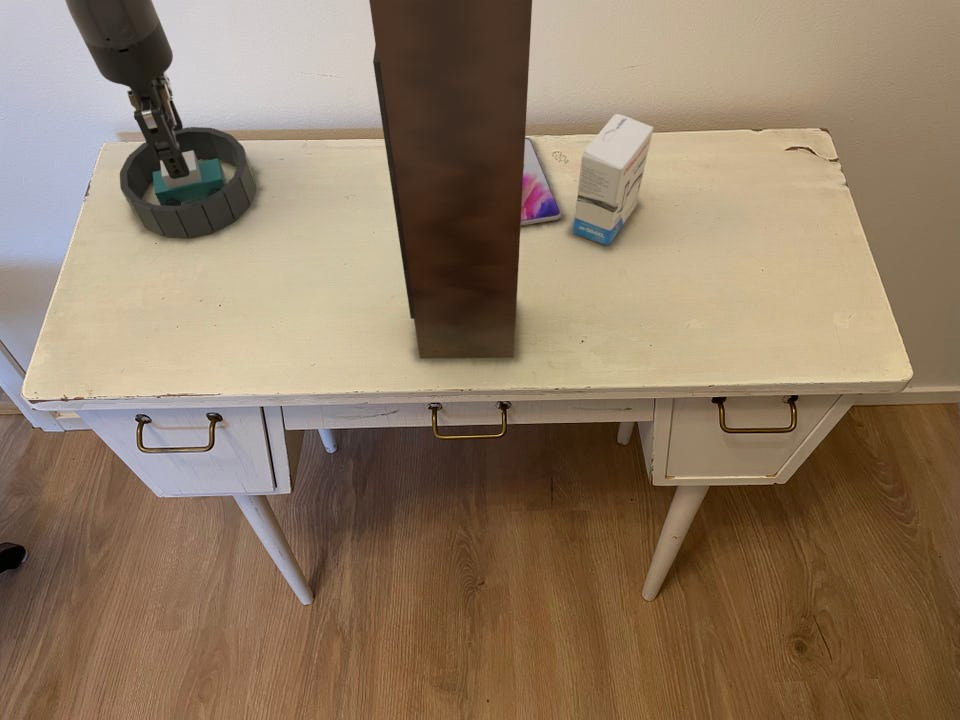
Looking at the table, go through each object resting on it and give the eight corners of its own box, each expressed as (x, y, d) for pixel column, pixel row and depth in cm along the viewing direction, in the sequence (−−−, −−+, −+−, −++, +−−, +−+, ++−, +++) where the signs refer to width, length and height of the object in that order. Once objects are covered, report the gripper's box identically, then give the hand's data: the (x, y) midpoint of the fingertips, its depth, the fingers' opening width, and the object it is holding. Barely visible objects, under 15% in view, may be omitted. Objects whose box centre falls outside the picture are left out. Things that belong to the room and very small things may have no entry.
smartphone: (530, 135, 95) (563, 215, 87) (530, 141, 96) (562, 220, 88) (476, 143, 94) (504, 224, 86) (476, 148, 95) (504, 229, 87)
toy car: (164, 215, 89) (148, 182, 85) (161, 189, 92) (145, 156, 87) (230, 200, 90) (217, 168, 86) (225, 175, 93) (212, 142, 89)
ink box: (607, 248, 85) (622, 170, 76) (570, 232, 87) (580, 154, 77) (638, 204, 89) (656, 125, 80) (602, 189, 91) (615, 110, 81)
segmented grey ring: (138, 250, 86) (122, 223, 82) (132, 169, 94) (117, 141, 90) (263, 221, 88) (253, 194, 85) (246, 145, 96) (237, 117, 92)
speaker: (416, 359, 77) (361, -14, 44) (419, 305, 81) (371, -73, 48) (513, 358, 77) (533, -15, 44) (512, 305, 81) (528, -75, 48)
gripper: (78, -8, 75) (141, 121, 89) (80, 71, 68) (148, 199, 81) (152, -21, 76) (203, 109, 90) (162, 55, 69) (216, 184, 82)
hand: (177, 152), depth 85 cm, fingers open, 8 cm apart
